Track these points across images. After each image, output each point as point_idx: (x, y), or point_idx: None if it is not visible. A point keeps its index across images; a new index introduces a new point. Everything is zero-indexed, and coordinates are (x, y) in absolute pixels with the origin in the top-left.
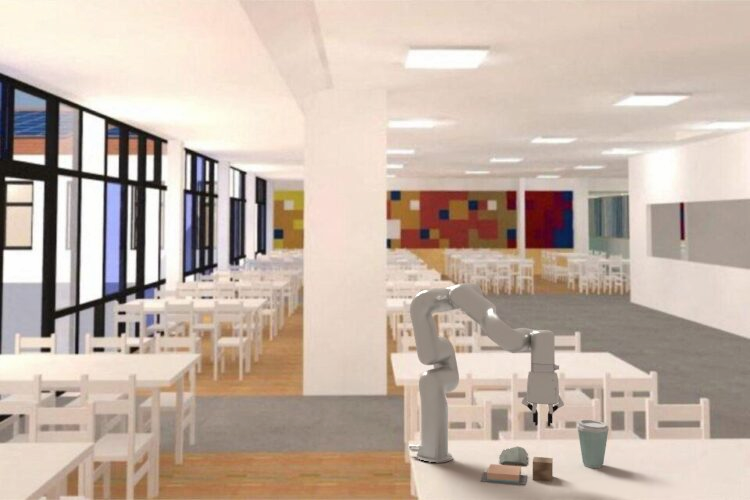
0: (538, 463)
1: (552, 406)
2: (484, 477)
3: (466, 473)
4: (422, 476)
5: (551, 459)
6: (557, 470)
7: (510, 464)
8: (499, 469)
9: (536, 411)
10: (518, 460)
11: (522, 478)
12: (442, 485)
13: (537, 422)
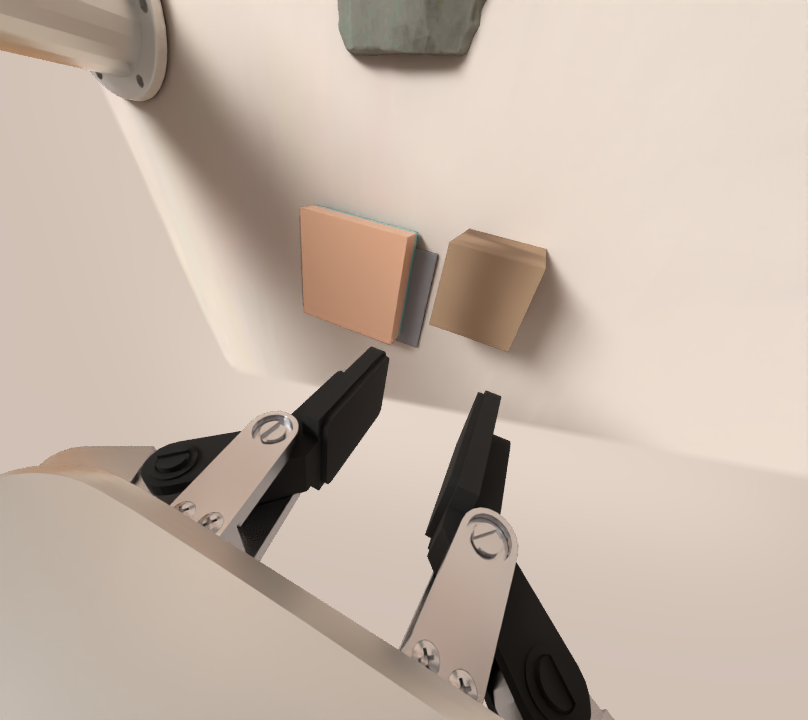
0: (453, 330)
1: (484, 637)
2: None
3: (259, 225)
4: (182, 258)
5: (529, 294)
6: (622, 135)
7: (389, 53)
8: (333, 279)
9: (305, 487)
10: (421, 32)
11: (415, 292)
12: (240, 328)
13: (374, 406)
